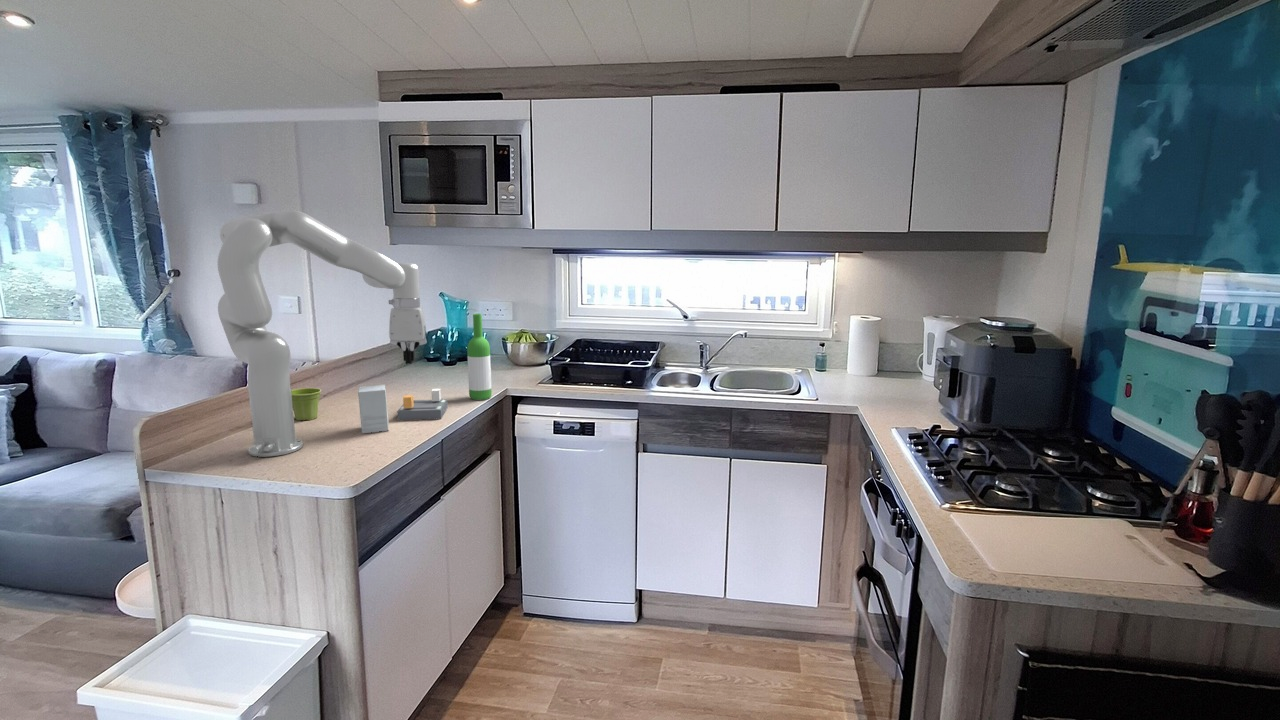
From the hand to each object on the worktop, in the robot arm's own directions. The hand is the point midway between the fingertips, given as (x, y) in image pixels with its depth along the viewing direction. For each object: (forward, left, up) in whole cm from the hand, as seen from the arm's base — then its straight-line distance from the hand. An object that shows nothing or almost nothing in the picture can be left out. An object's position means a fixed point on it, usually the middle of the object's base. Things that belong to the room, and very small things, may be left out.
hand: (409, 362), depth 192 cm
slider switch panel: (+4, -3, -18) cm, 18 cm away
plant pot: (+3, +32, -18) cm, 37 cm away
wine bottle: (+23, -18, -18) cm, 35 cm away
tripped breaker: (0, +1, -14) cm, 14 cm away
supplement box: (-11, +8, -18) cm, 23 cm away
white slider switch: (+8, -6, -14) cm, 18 cm away
